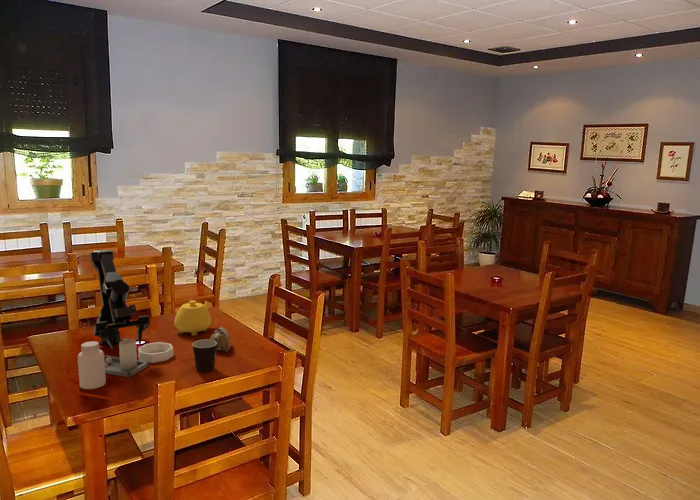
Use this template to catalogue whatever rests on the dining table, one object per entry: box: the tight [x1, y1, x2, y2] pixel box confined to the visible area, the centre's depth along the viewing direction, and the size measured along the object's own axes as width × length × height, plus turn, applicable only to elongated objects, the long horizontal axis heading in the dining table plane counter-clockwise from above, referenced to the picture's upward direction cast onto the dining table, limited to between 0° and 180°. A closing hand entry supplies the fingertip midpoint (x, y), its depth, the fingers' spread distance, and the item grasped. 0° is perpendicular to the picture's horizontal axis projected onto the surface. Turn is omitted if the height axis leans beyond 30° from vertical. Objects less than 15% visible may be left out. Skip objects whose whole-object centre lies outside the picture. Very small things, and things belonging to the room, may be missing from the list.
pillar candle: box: [118, 337, 138, 372], centre depth 192 cm, size 6×6×12 cm
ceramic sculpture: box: [209, 325, 232, 352], centre depth 217 cm, size 11×9×15 cm
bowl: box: [137, 341, 175, 364], centre depth 206 cm, size 12×12×4 cm
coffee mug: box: [191, 338, 217, 374], centre depth 198 cm, size 12×9×10 cm
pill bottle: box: [77, 340, 107, 390], centre depth 180 cm, size 8×8×15 cm
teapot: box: [173, 299, 212, 337], centre depth 238 cm, size 20×16×14 cm
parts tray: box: [104, 354, 150, 378], centre depth 194 cm, size 19×11×3 cm, turn 75°
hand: (126, 346), depth 193 cm, fingers open, 9 cm apart
